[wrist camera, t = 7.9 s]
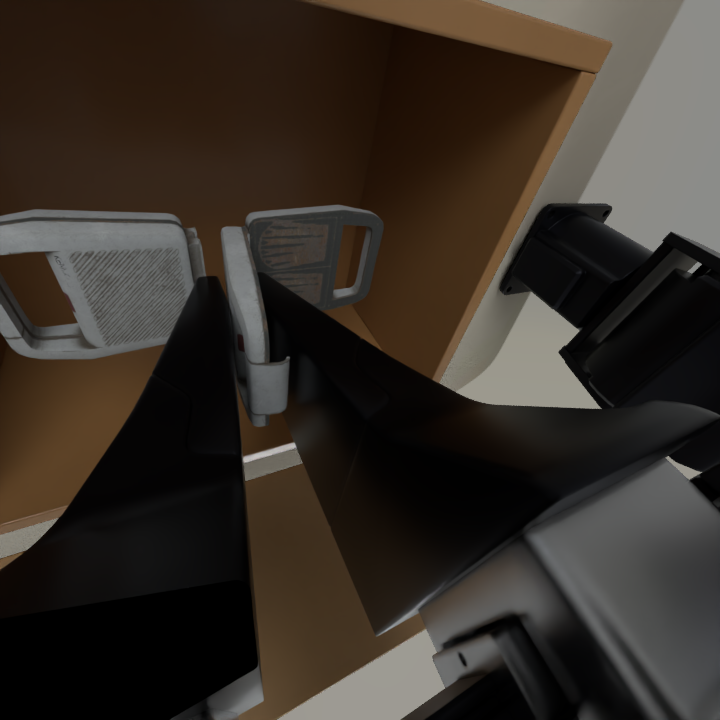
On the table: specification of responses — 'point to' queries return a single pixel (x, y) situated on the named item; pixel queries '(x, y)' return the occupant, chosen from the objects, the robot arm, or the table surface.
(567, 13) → the table surface
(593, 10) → the table surface
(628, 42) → the table surface
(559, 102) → the cardboard box
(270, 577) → the flap
